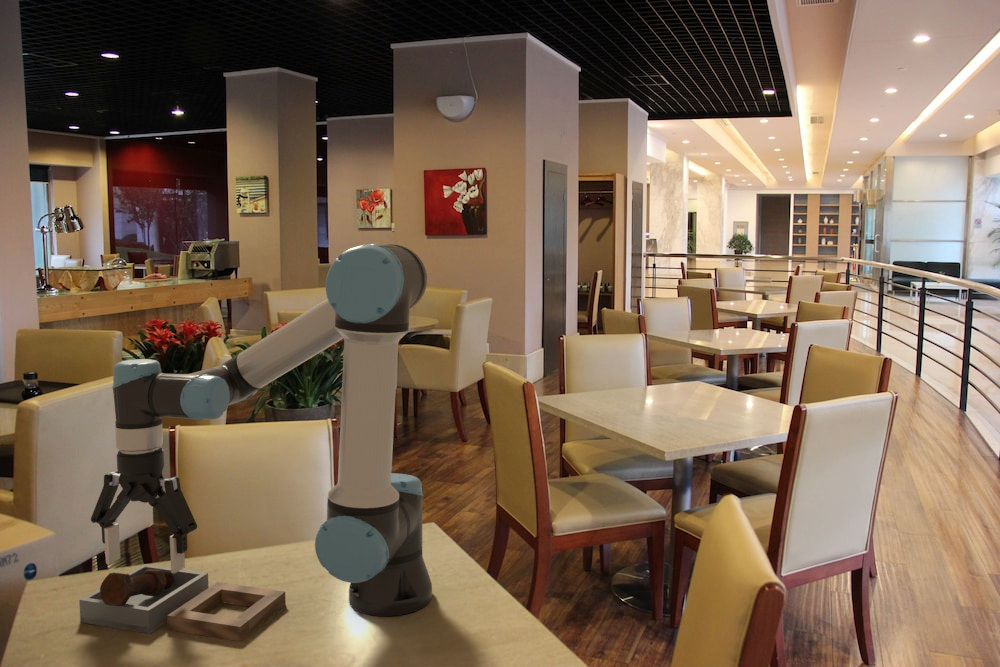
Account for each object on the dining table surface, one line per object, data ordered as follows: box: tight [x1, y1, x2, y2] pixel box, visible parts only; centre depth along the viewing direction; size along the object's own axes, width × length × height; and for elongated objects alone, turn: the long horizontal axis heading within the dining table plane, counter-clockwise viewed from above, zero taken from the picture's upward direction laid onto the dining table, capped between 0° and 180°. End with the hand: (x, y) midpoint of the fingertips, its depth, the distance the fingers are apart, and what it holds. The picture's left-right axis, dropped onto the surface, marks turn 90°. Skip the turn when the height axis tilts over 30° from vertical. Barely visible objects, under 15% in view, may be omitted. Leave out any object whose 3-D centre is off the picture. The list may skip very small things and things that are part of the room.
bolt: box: [99, 569, 174, 606], centre depth 143 cm, size 6×5×15 cm
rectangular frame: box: [166, 581, 287, 642], centre depth 141 cm, size 14×14×2 cm
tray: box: [78, 563, 210, 634], centre depth 144 cm, size 14×16×4 cm
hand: (145, 565), depth 144 cm, fingers open, 13 cm apart
